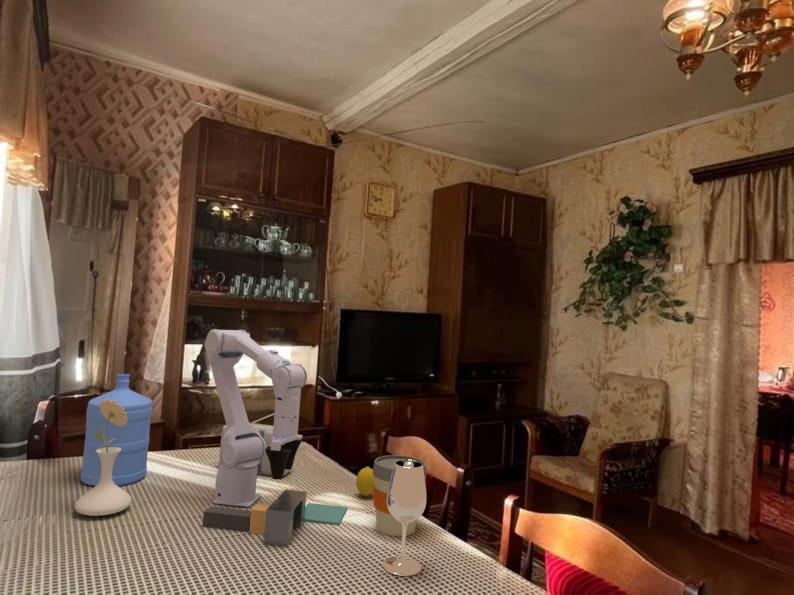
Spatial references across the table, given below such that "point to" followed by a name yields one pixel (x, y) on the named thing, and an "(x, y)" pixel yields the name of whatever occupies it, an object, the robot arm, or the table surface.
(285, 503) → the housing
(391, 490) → the wineglass
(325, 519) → the mat
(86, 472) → the water jug
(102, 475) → the flower in vase
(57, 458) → the table surface
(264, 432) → the stereo radio cassette player
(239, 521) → the push rod
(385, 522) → the reusable coffee cup
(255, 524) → the plug
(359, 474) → the lemon
